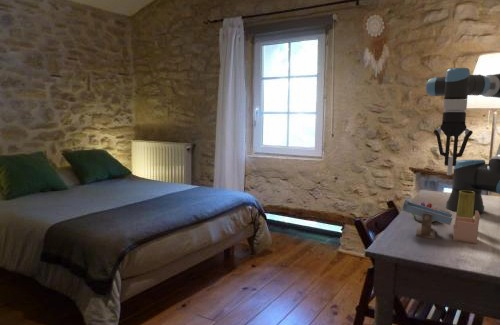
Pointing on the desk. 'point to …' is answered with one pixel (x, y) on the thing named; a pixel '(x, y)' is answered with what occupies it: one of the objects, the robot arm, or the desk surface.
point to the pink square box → (466, 229)
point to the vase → (465, 204)
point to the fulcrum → (426, 227)
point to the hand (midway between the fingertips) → (449, 174)
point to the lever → (419, 210)
